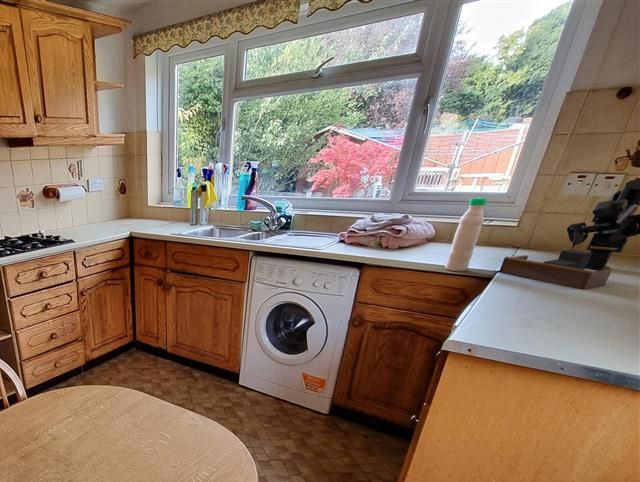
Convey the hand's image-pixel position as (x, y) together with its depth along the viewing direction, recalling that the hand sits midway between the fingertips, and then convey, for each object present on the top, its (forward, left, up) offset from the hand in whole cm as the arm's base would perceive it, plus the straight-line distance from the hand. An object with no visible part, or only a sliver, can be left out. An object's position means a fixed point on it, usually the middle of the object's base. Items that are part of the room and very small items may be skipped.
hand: (591, 242), depth 144 cm
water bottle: (+24, -25, -12) cm, 37 cm away
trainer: (+3, -3, -12) cm, 12 cm away
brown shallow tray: (+9, -3, -12) cm, 15 cm away
